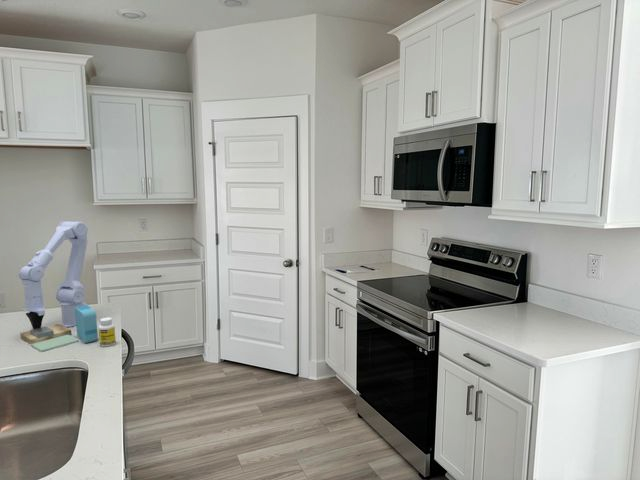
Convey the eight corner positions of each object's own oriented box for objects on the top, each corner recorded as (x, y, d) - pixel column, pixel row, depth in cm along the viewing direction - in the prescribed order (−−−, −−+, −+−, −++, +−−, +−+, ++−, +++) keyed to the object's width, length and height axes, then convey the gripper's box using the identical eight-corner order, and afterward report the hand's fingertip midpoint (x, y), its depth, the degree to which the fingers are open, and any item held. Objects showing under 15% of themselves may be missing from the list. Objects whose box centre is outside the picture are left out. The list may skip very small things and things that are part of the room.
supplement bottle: (100, 347, 162) (97, 322, 161) (99, 343, 167) (97, 318, 165) (116, 345, 164) (114, 319, 163) (115, 340, 169) (113, 315, 168)
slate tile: (45, 329, 176) (45, 326, 176) (53, 334, 171) (53, 330, 171) (30, 333, 172) (29, 329, 172) (37, 338, 167) (37, 334, 167)
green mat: (68, 335, 175) (67, 334, 175) (79, 341, 168) (79, 340, 168) (30, 345, 165) (30, 344, 165) (41, 352, 158) (41, 350, 158)
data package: (98, 341, 169) (95, 310, 167) (85, 344, 166) (82, 313, 164) (89, 333, 178) (86, 304, 176) (77, 336, 175) (74, 306, 173)
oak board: (59, 328, 184) (58, 323, 183) (71, 334, 176) (71, 329, 176) (20, 338, 173) (20, 333, 173) (31, 345, 165) (31, 339, 165)
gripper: (15, 295, 174) (19, 328, 176) (28, 301, 165) (32, 336, 167) (35, 291, 179) (38, 323, 181) (49, 297, 170) (52, 331, 172)
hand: (37, 329), depth 174 cm, fingers closed
